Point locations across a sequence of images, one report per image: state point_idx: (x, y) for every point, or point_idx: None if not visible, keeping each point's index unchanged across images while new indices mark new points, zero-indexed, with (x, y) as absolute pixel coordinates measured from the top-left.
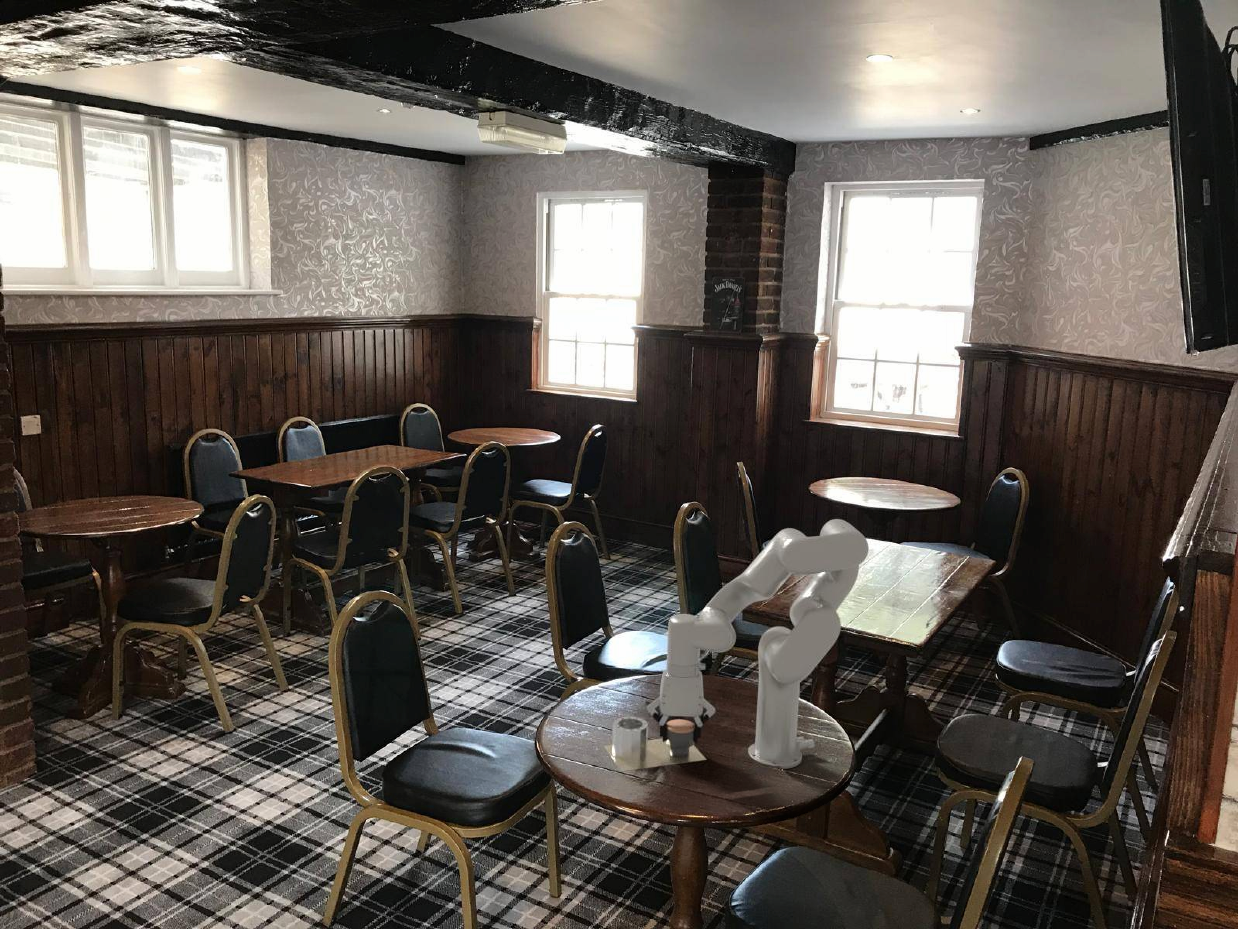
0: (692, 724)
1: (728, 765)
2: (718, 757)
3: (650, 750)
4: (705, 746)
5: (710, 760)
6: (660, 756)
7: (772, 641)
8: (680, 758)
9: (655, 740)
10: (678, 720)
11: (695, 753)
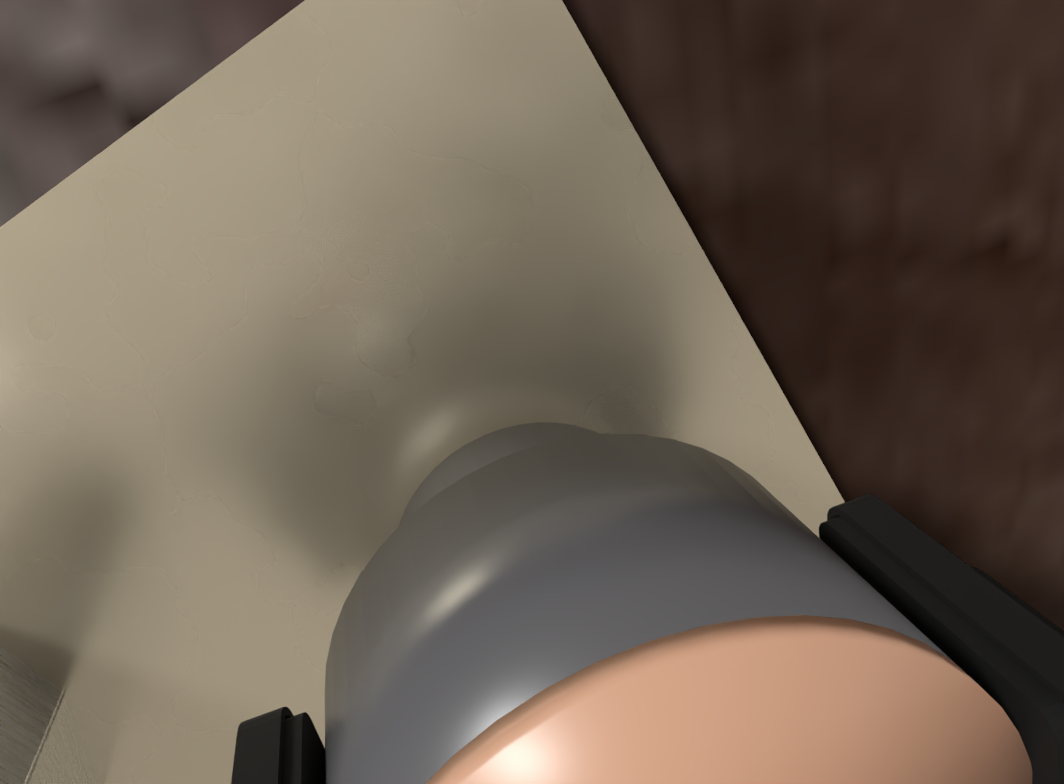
0: (991, 775)
1: (1053, 457)
2: (968, 318)
3: (95, 640)
4: (814, 50)
5: (880, 427)
6: None
7: None
8: None
9: (6, 282)
10: (622, 748)
11: (735, 460)
